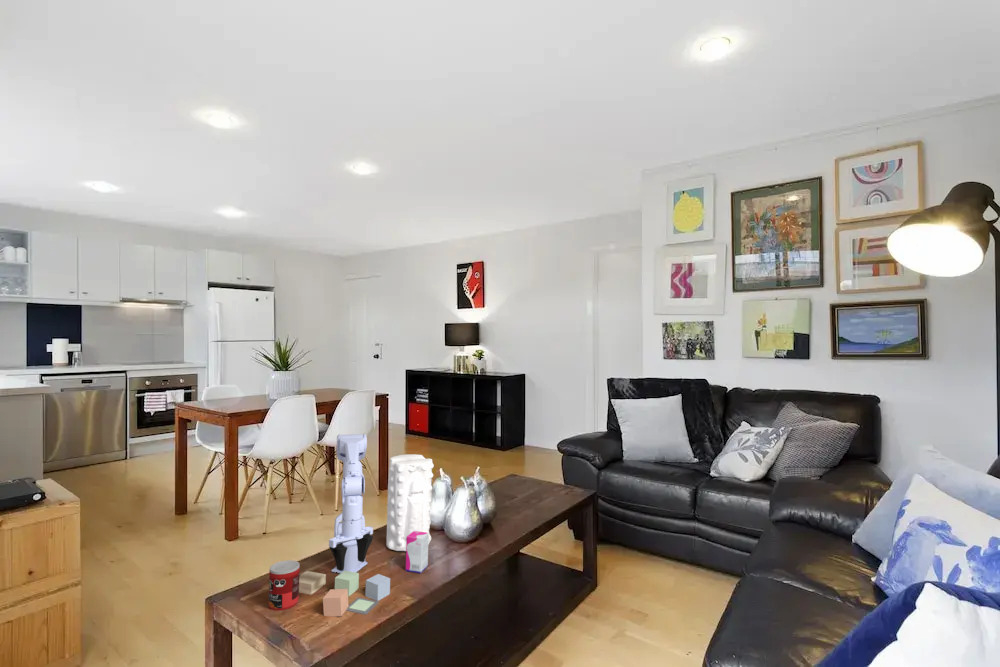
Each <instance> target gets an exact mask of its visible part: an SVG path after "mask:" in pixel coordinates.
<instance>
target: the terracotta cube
mask: <svg viewBox="0 0 1000 667" xmlns="http://www.w3.org/2000/svg"><path fill="white" fill-rule="evenodd" d="M322 605H323V606H322V607H323V616H324V617H343V615H344V613H345V612H347V611H346V610H347V608H348V607H349V605H350V603H349V596H348V589H335V588H333V589H331V588H330V589H329V591H327V593H326V594H325V595H324V596H323V597H322Z"/></svg>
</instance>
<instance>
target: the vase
mask: <svg viewBox="0 0 1000 667" xmlns="http://www.w3.org/2000/svg"><path fill="white" fill-rule="evenodd" d="M434 465H435V464H434V463H433V459H432V458H426V457H424V455H423V454H414V453H413V454H408V453H407V454H398V455H394V456H391V457H390V458H389V464H388V477H387V478H388V479H387V482H388V483H387V504H386V507H387V509H386V510H387V513H386V542H385V543H386V547H387V548H388V549H390V550H393V551H396V552H406V539H407V536H408V535H409V534H411V533H412V532H413V531H418V532H427V533H429V538H428V545H429V544H430V542H431V541H432V536H431V534H430V528H431V527H430V526H431V522H432V521H431V515H430V514H431V510H432V507H431V505H432V490H433V486H432V481H433V480H432V478H433V477H434V473H433V469H434Z"/></svg>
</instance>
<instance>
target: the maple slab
mask: <svg viewBox="0 0 1000 667" xmlns="http://www.w3.org/2000/svg"><path fill="white" fill-rule="evenodd" d="M326 580H327V574H326V573H320V572H315V571H310V570H306V571H304V572H303V573H301V574H300V575H299V594H300V593H301V594H304V595H313V594H314V593H316V592H317V591H318V590H320V589H321V588H322V587H324V586H325V585H326V582H327V581H326ZM323 585H324V586H323Z"/></svg>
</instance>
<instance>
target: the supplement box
mask: <svg viewBox="0 0 1000 667" xmlns="http://www.w3.org/2000/svg"><path fill="white" fill-rule="evenodd" d="M429 534H430V532H429V533H427V532H418V531H413V532H412V533H411V534H409V535H408V536H407V539H406V551H405V554H406V555H405V572H409V573H410V572H411V573H415V574H422V573H423V572H425V570H426V569H427V568H428V567H427V566H429V544H428V538H429Z"/></svg>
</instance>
